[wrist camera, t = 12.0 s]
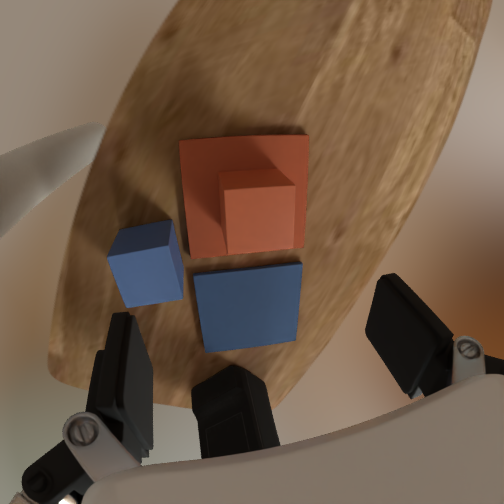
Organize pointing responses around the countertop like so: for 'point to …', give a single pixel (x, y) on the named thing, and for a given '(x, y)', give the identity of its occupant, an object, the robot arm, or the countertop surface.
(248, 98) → the countertop surface
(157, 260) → the slate block
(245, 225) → the terracotta block
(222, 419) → the tall black tower box
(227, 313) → the slate mat
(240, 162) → the terracotta mat
